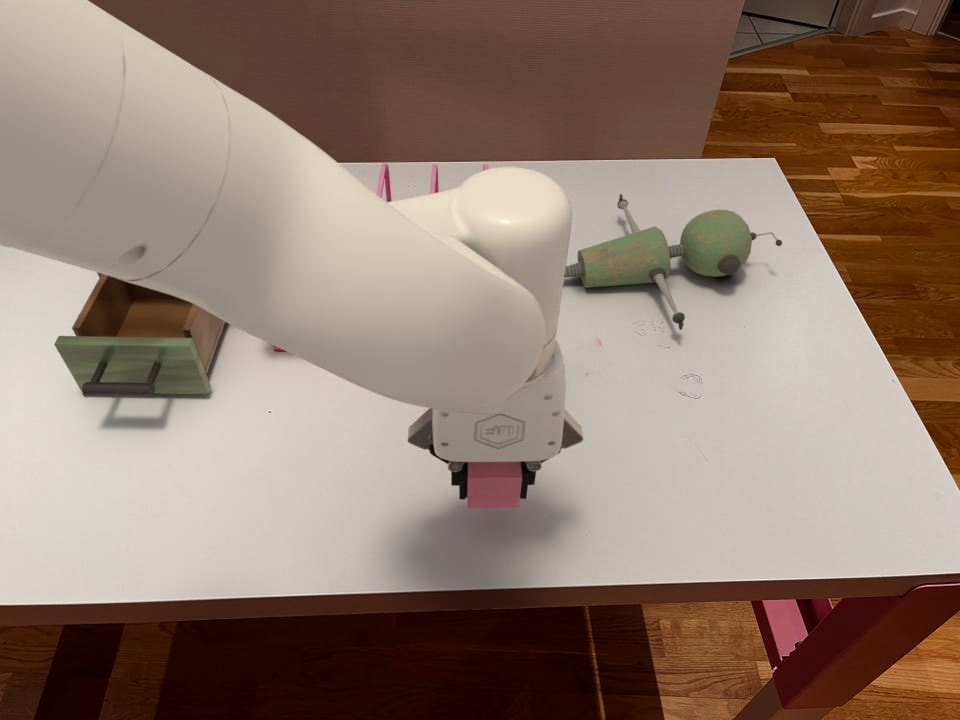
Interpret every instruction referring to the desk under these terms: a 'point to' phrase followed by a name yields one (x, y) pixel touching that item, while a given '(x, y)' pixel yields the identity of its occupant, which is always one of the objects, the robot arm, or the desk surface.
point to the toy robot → (667, 253)
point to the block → (494, 484)
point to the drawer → (139, 343)
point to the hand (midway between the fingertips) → (492, 484)
